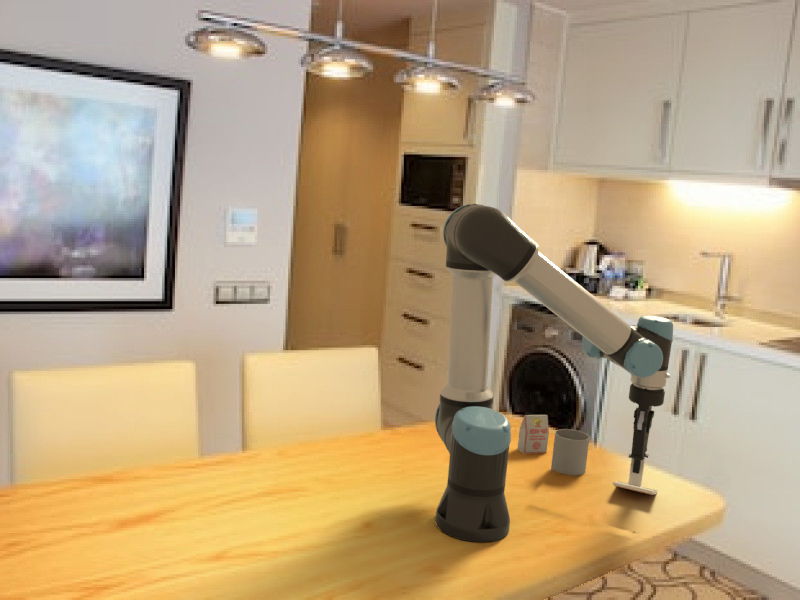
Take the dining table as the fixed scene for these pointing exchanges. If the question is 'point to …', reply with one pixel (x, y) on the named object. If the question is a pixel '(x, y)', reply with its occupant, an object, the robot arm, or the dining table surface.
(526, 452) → the white printed box
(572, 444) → the cup
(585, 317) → the robot arm
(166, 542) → the dining table surface
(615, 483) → the tile
